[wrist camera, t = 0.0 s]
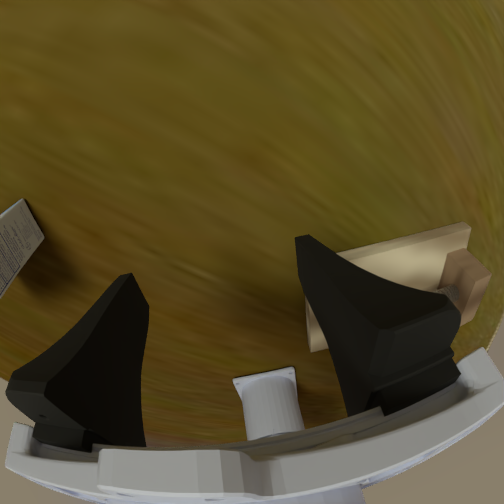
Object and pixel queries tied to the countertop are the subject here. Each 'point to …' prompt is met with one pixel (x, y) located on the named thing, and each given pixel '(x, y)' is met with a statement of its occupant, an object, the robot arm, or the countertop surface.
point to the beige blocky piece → (419, 269)
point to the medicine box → (16, 241)
